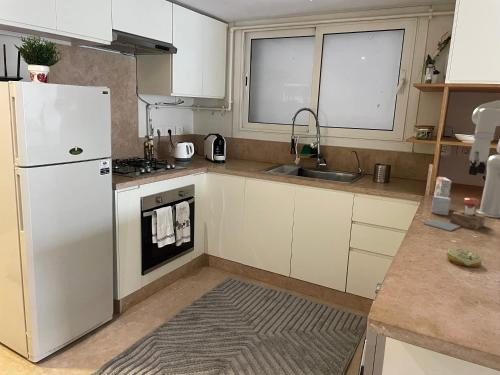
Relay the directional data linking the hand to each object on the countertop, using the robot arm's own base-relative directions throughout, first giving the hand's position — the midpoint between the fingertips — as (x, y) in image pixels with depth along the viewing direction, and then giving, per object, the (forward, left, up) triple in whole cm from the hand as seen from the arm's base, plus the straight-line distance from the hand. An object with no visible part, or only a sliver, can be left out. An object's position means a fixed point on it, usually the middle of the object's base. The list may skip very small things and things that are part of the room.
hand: (476, 174), depth 174 cm
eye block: (0, 0, -24) cm, 24 cm away
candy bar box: (-20, -21, -25) cm, 38 cm away
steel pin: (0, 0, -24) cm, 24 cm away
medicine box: (-8, -16, -25) cm, 30 cm away
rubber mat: (+13, -6, -24) cm, 28 cm away
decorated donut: (+52, +17, -25) cm, 60 cm away
